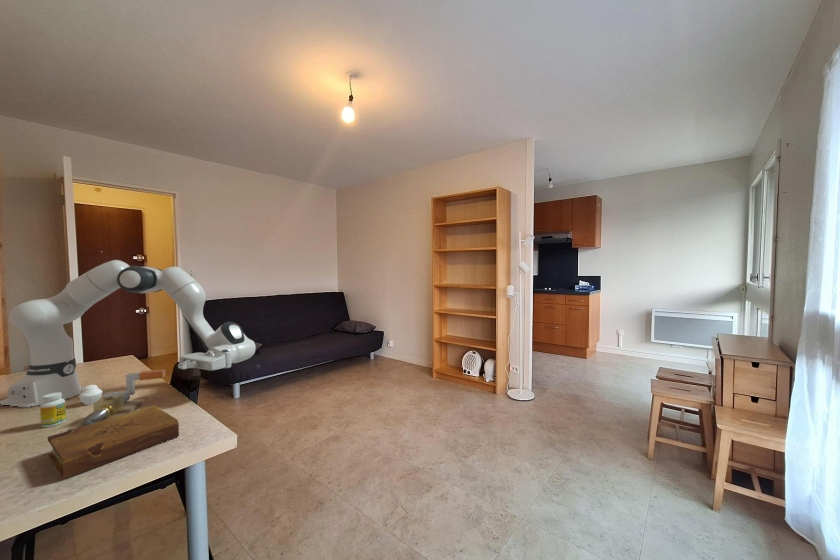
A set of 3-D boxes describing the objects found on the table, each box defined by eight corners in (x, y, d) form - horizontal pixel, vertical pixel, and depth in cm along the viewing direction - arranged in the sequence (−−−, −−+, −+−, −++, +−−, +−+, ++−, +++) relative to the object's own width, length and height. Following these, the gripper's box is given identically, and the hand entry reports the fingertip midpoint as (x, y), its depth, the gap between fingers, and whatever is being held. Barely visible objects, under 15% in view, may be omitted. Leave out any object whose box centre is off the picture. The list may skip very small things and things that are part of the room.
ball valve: (101, 426, 99) (100, 409, 99) (79, 429, 97) (78, 411, 97) (133, 401, 118) (133, 386, 118) (116, 403, 116) (115, 388, 116)
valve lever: (100, 399, 106) (99, 377, 105) (105, 396, 108) (104, 374, 108) (162, 392, 111) (162, 371, 111) (166, 389, 114) (165, 369, 114)
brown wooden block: (64, 483, 75) (62, 459, 75) (48, 458, 86) (47, 437, 85) (179, 438, 95) (178, 419, 94) (155, 422, 105) (154, 405, 104)
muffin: (85, 407, 115) (84, 388, 115) (75, 405, 118) (74, 386, 117) (106, 401, 121) (105, 382, 121) (97, 398, 123) (96, 381, 123)
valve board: (113, 428, 100) (113, 423, 100) (67, 434, 96) (67, 429, 96) (143, 403, 119) (143, 399, 119) (106, 407, 115) (105, 403, 115)
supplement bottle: (49, 421, 105) (47, 392, 105) (70, 418, 107) (69, 390, 107) (36, 429, 100) (34, 398, 100) (58, 426, 102) (57, 396, 101)
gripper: (201, 347, 136) (164, 355, 123) (233, 352, 127) (196, 361, 115) (201, 362, 136) (164, 371, 123) (233, 367, 127) (197, 378, 115)
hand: (180, 366), depth 119 cm, fingers closed
